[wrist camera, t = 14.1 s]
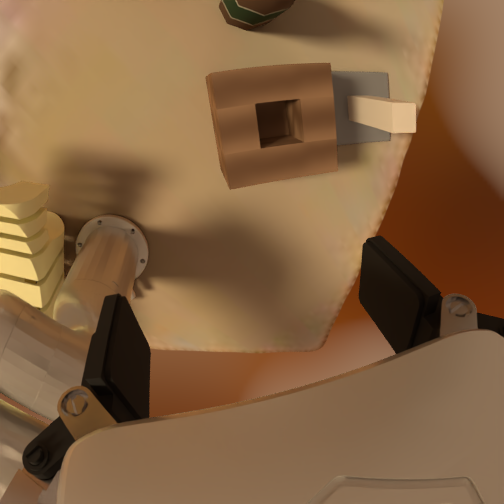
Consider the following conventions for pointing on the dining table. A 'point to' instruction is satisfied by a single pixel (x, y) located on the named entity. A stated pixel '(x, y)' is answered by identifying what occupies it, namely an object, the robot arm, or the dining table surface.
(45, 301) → the slatted curved stool
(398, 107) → the square peg
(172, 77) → the dining table surface
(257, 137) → the wooden square ring
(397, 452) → the robot arm
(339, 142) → the rubber mat
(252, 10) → the beer bottle
